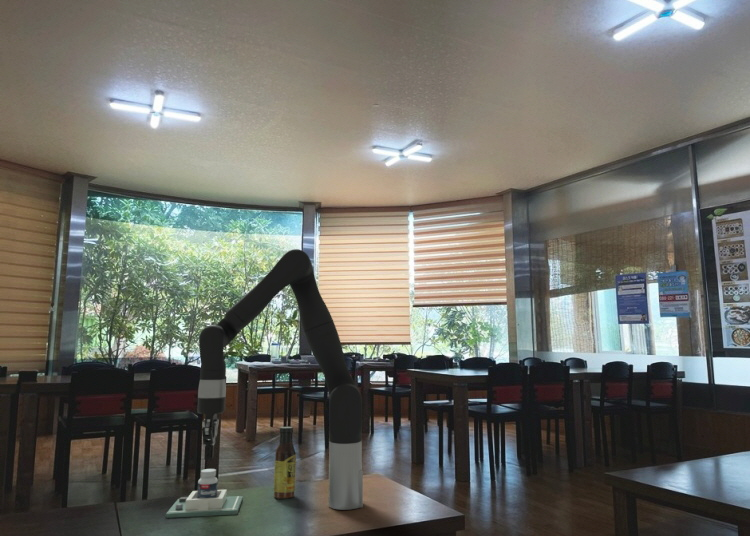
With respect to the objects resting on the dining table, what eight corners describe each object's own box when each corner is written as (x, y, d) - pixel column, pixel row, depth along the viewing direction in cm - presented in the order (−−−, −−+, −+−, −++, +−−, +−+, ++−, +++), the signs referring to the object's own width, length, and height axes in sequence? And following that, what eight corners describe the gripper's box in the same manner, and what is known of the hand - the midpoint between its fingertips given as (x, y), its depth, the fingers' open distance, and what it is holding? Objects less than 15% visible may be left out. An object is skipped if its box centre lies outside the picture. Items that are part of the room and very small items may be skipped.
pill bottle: (197, 507, 136) (199, 473, 138) (195, 502, 141) (197, 469, 142) (218, 505, 138) (219, 471, 140) (215, 500, 143) (216, 467, 144)
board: (242, 499, 147) (243, 486, 148) (237, 514, 134) (237, 500, 134) (178, 502, 145) (178, 489, 145) (165, 517, 131) (166, 503, 132)
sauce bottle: (290, 500, 146) (291, 429, 150) (270, 499, 148) (272, 428, 151) (298, 494, 153) (299, 426, 156) (278, 493, 154) (280, 425, 157)
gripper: (222, 397, 139) (219, 463, 136) (228, 393, 151) (225, 454, 148) (193, 397, 137) (189, 464, 134) (202, 394, 150) (199, 455, 147)
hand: (208, 459), depth 141 cm, fingers closed
